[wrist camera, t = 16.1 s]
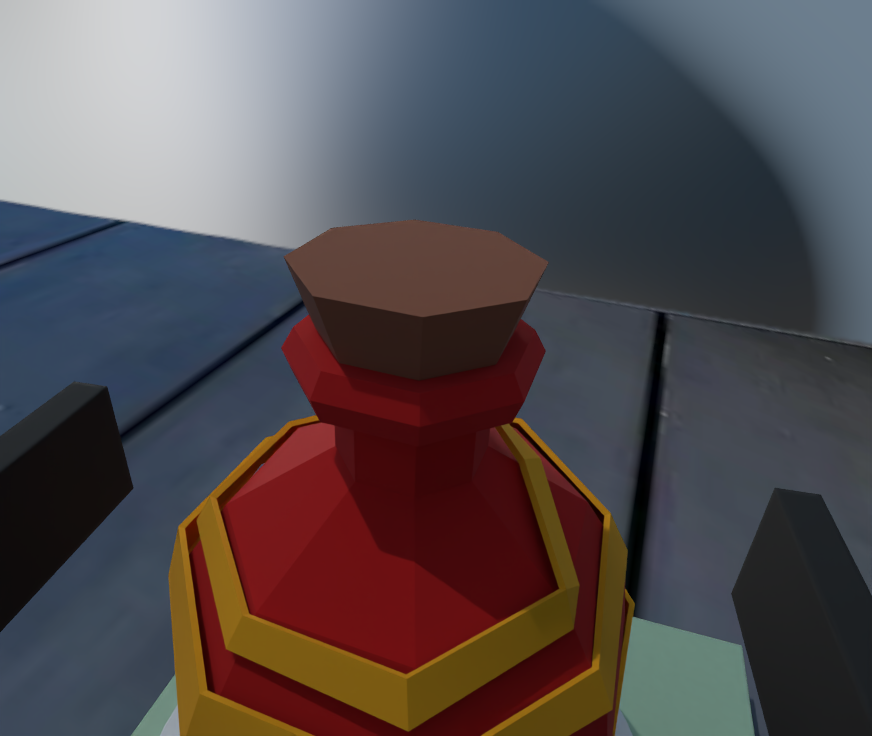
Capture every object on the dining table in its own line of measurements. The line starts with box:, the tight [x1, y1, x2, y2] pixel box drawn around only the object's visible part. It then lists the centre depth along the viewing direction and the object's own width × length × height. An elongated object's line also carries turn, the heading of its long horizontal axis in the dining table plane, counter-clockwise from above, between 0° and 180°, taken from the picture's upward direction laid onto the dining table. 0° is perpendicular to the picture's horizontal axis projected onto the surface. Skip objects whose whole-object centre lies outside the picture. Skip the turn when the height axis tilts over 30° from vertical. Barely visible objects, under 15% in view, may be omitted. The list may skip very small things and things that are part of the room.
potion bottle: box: [169, 220, 635, 736], centre depth 14 cm, size 10×10×15 cm
